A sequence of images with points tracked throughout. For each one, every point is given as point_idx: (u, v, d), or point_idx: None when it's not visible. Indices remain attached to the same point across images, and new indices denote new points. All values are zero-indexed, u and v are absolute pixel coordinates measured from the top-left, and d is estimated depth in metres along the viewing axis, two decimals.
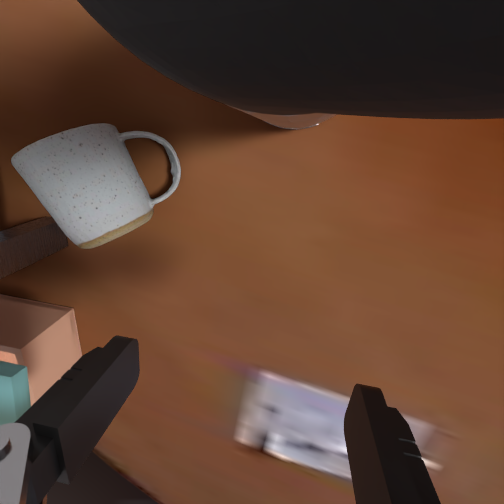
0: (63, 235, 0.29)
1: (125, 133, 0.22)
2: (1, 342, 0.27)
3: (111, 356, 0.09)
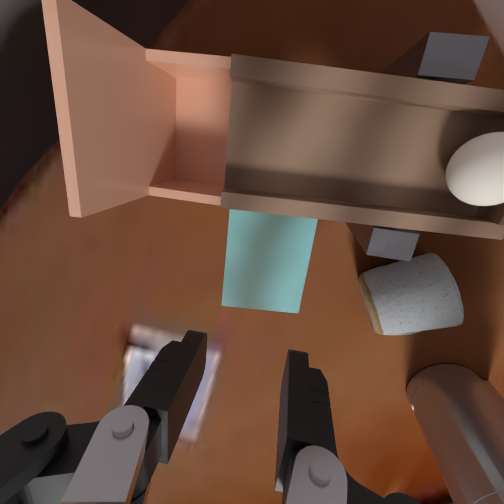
0: None
1: None
2: None
3: (191, 348, 0.10)
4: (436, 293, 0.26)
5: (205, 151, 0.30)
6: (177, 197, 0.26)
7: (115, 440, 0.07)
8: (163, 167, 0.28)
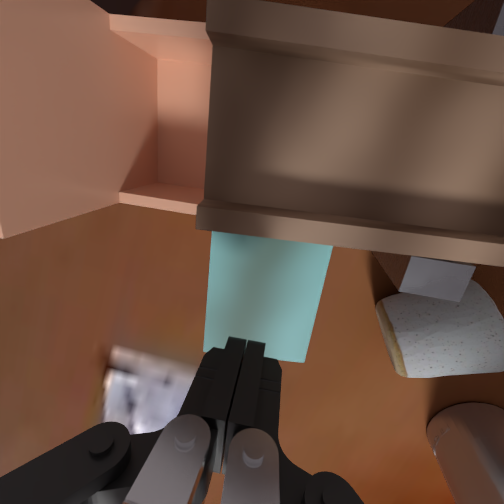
0: None
1: None
2: None
3: (236, 355, 0.10)
4: (479, 333, 0.20)
5: (193, 149, 0.25)
6: (154, 206, 0.21)
7: (181, 451, 0.06)
8: (140, 168, 0.23)
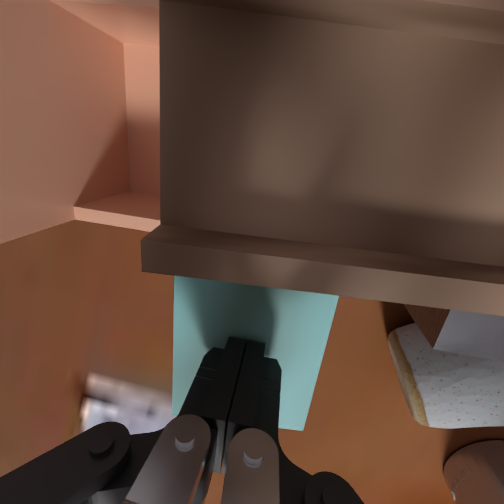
0: None
1: None
2: None
3: (236, 355, 0.10)
4: None
5: None
6: (117, 223, 0.17)
7: (181, 452, 0.06)
8: (104, 176, 0.19)
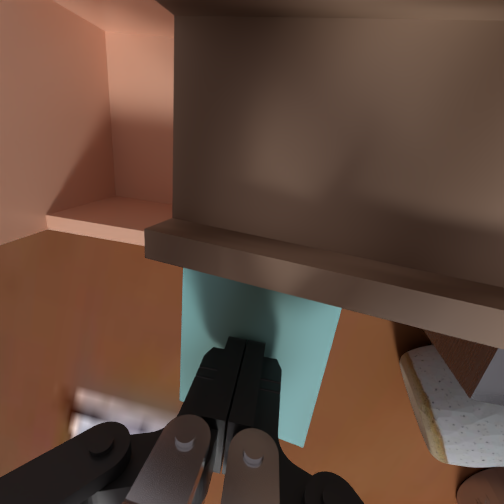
0: None
1: None
2: None
3: (236, 355, 0.10)
4: None
5: (158, 153, 0.19)
6: (95, 234, 0.15)
7: (181, 452, 0.06)
8: (84, 179, 0.17)
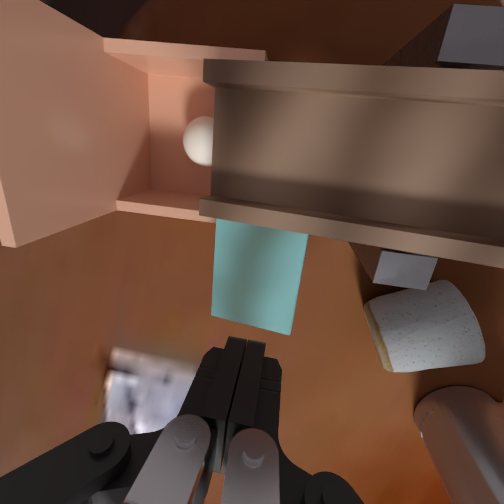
0: None
1: None
2: None
3: (236, 355, 0.10)
4: (454, 330, 0.23)
5: (184, 157, 0.27)
6: (149, 212, 0.22)
7: (181, 452, 0.06)
8: (135, 177, 0.25)
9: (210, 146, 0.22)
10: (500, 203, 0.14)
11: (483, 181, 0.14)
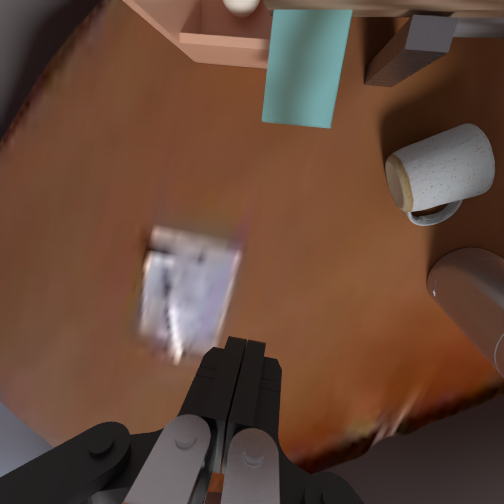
0: (377, 84, 0.31)
1: (462, 199, 0.32)
2: None
3: (236, 355, 0.10)
4: (468, 150, 0.26)
5: (231, 18, 0.31)
6: (208, 43, 0.26)
7: (181, 452, 0.06)
8: (191, 26, 0.29)
9: None
10: None
11: None
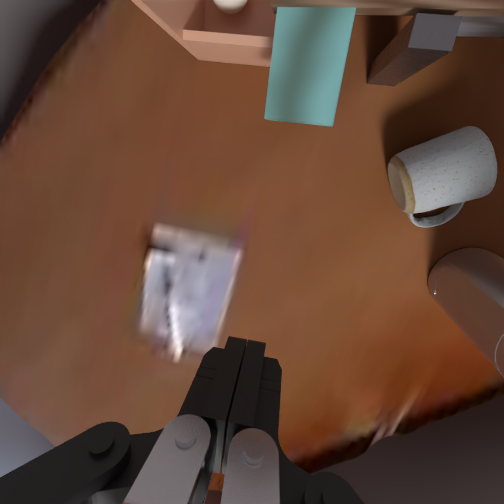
0: (379, 83, 0.31)
1: (464, 201, 0.32)
2: None
3: (236, 355, 0.10)
4: (470, 152, 0.26)
5: (234, 16, 0.31)
6: (211, 40, 0.26)
7: (181, 452, 0.06)
8: (194, 23, 0.29)
9: None
10: None
11: None
